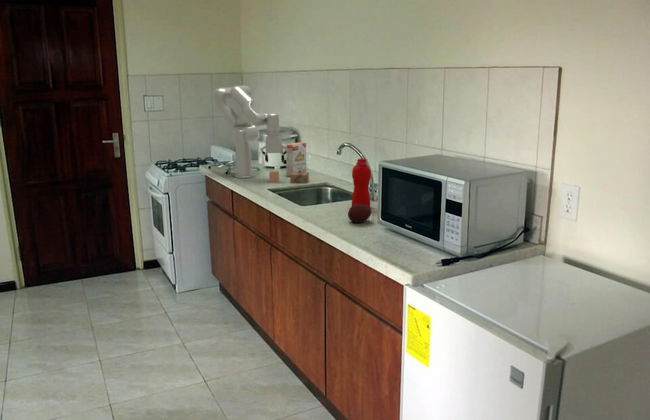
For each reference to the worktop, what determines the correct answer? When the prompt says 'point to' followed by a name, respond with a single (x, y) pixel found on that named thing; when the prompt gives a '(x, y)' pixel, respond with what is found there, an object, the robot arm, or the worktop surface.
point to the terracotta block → (274, 176)
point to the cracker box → (295, 158)
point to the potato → (359, 213)
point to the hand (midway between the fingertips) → (274, 161)
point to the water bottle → (361, 183)
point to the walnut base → (299, 177)
